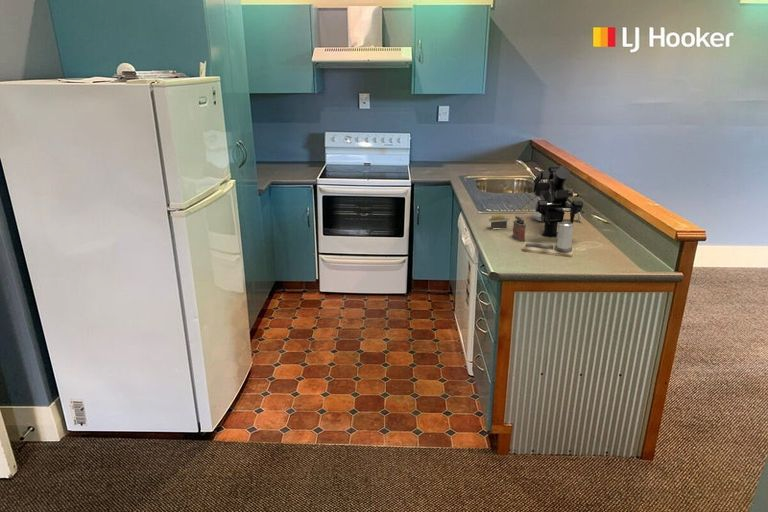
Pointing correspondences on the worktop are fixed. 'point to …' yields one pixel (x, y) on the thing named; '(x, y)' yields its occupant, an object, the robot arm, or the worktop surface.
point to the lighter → (519, 229)
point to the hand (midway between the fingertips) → (560, 223)
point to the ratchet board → (547, 249)
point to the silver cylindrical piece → (564, 235)
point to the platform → (498, 222)
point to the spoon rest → (538, 216)
